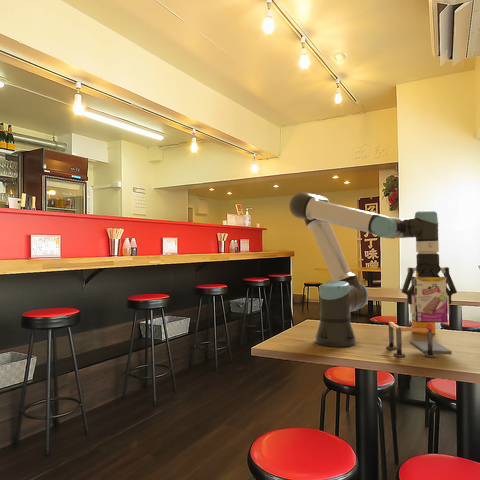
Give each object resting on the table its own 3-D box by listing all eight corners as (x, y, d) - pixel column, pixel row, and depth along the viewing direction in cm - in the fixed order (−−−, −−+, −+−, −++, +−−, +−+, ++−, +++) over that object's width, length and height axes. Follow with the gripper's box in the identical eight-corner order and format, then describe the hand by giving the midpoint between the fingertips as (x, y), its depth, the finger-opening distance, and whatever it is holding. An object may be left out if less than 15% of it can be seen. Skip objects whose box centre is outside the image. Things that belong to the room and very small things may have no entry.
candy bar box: (416, 323, 141) (414, 277, 141) (411, 320, 146) (410, 276, 146) (448, 323, 139) (447, 276, 140) (443, 320, 144) (441, 276, 145)
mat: (424, 353, 135) (424, 350, 135) (410, 342, 150) (410, 340, 150) (451, 353, 134) (451, 351, 134) (435, 343, 149) (435, 341, 149)
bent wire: (395, 357, 131) (394, 324, 131) (385, 347, 144) (384, 317, 144) (438, 358, 129) (437, 325, 129) (423, 347, 142) (423, 318, 143)
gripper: (396, 253, 141) (398, 314, 140) (466, 252, 138) (468, 314, 137) (391, 253, 149) (393, 311, 148) (457, 252, 146) (459, 311, 145)
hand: (429, 313), depth 143 cm, fingers closed on candy bar box, 11 cm apart
